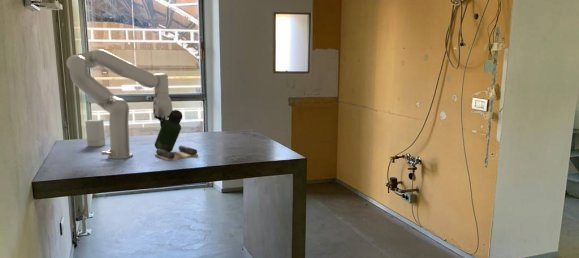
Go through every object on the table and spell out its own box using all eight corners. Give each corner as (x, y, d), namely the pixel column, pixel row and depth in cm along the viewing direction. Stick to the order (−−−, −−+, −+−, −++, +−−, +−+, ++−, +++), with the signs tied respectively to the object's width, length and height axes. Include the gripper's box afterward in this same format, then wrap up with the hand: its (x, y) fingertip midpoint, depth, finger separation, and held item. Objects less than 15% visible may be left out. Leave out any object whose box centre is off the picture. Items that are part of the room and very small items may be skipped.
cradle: (168, 160, 227) (168, 153, 227) (155, 156, 237) (155, 149, 236) (198, 155, 240) (197, 148, 240) (184, 151, 250) (183, 145, 249)
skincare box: (105, 144, 265) (104, 119, 262) (99, 147, 258) (98, 121, 256) (92, 144, 266) (91, 119, 263) (86, 146, 259) (84, 120, 257)
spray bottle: (166, 155, 243) (180, 121, 231) (150, 146, 243) (164, 111, 232) (175, 148, 252) (189, 114, 241) (160, 138, 253) (173, 104, 241)
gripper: (153, 97, 236) (154, 130, 239) (177, 95, 247) (178, 127, 250) (146, 96, 241) (148, 128, 244) (170, 94, 252) (171, 125, 255)
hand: (163, 127), depth 247 cm, fingers closed
